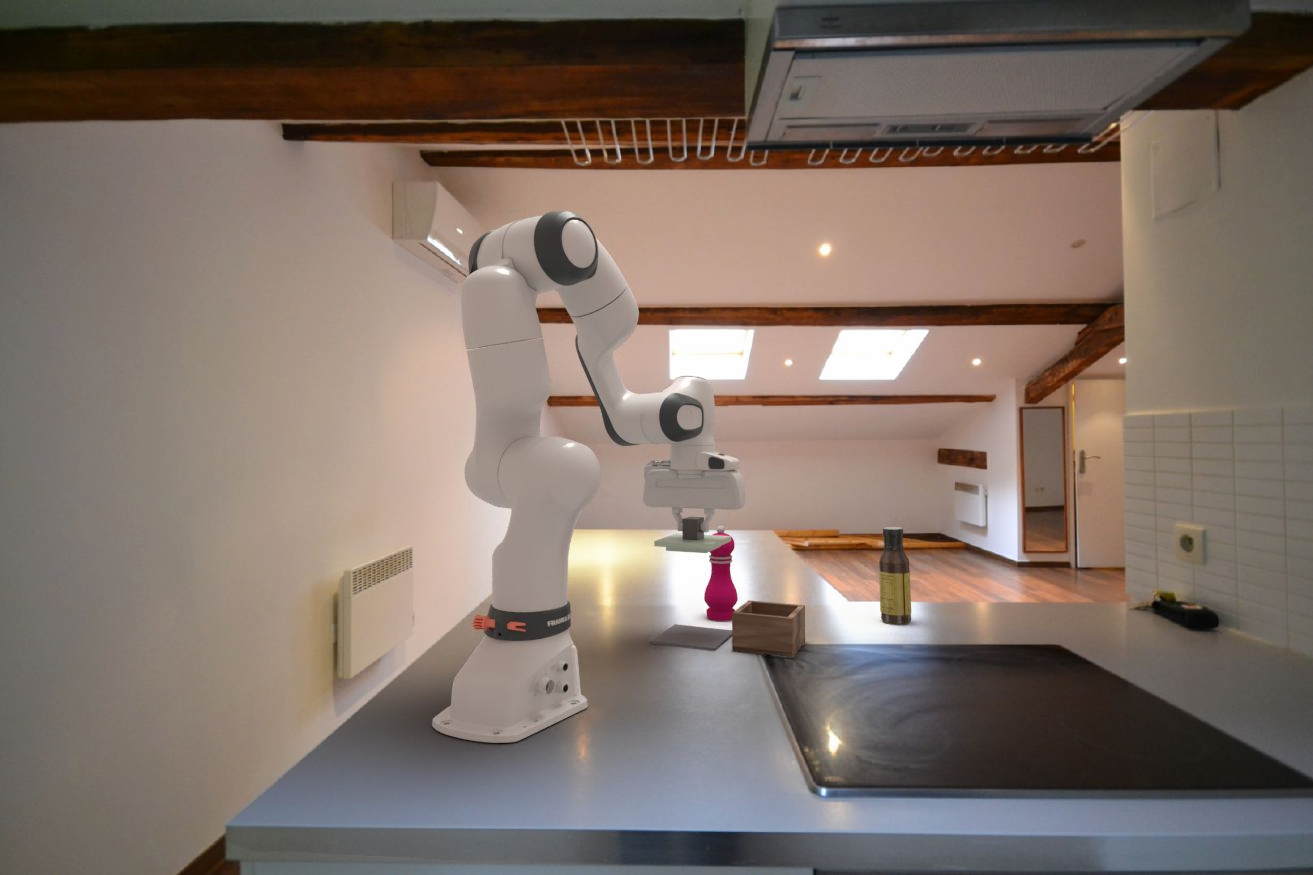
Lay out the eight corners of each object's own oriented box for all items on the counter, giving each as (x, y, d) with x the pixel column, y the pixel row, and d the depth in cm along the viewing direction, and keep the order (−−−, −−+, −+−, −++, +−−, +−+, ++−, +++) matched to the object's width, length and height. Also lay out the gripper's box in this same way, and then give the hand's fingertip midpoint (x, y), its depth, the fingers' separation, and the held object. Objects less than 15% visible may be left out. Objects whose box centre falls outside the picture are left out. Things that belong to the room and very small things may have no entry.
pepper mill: (699, 615, 155) (699, 524, 155) (729, 612, 157) (729, 523, 157) (711, 623, 148) (711, 528, 148) (743, 620, 150) (742, 526, 150)
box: (792, 658, 123) (792, 618, 124) (732, 651, 128) (732, 612, 128) (805, 642, 134) (804, 605, 134) (748, 635, 138) (748, 600, 138)
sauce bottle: (900, 617, 152) (900, 525, 152) (917, 624, 146) (916, 528, 146) (873, 618, 151) (873, 526, 151) (889, 626, 145) (889, 529, 145)
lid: (712, 555, 129) (711, 522, 129) (654, 551, 134) (654, 519, 134) (730, 546, 140) (730, 516, 140) (676, 543, 144) (676, 513, 144)
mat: (714, 651, 128) (714, 648, 128) (649, 643, 133) (649, 640, 133) (735, 633, 140) (735, 630, 140) (675, 626, 145) (675, 624, 145)
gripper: (637, 460, 138) (638, 530, 138) (737, 461, 130) (738, 536, 130) (650, 459, 144) (650, 527, 144) (747, 460, 136) (747, 531, 136)
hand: (693, 531), depth 137 cm, fingers closed on lid, 3 cm apart
